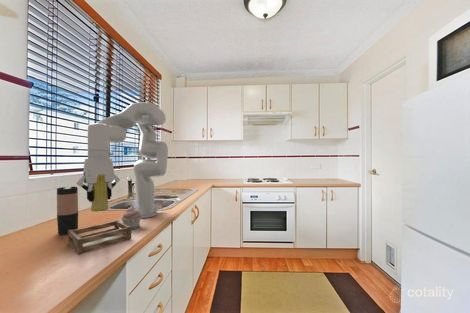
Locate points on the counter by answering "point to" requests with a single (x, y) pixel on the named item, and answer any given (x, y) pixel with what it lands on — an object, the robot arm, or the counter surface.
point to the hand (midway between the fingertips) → (99, 199)
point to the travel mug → (67, 209)
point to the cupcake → (131, 217)
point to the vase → (100, 194)
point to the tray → (98, 236)
